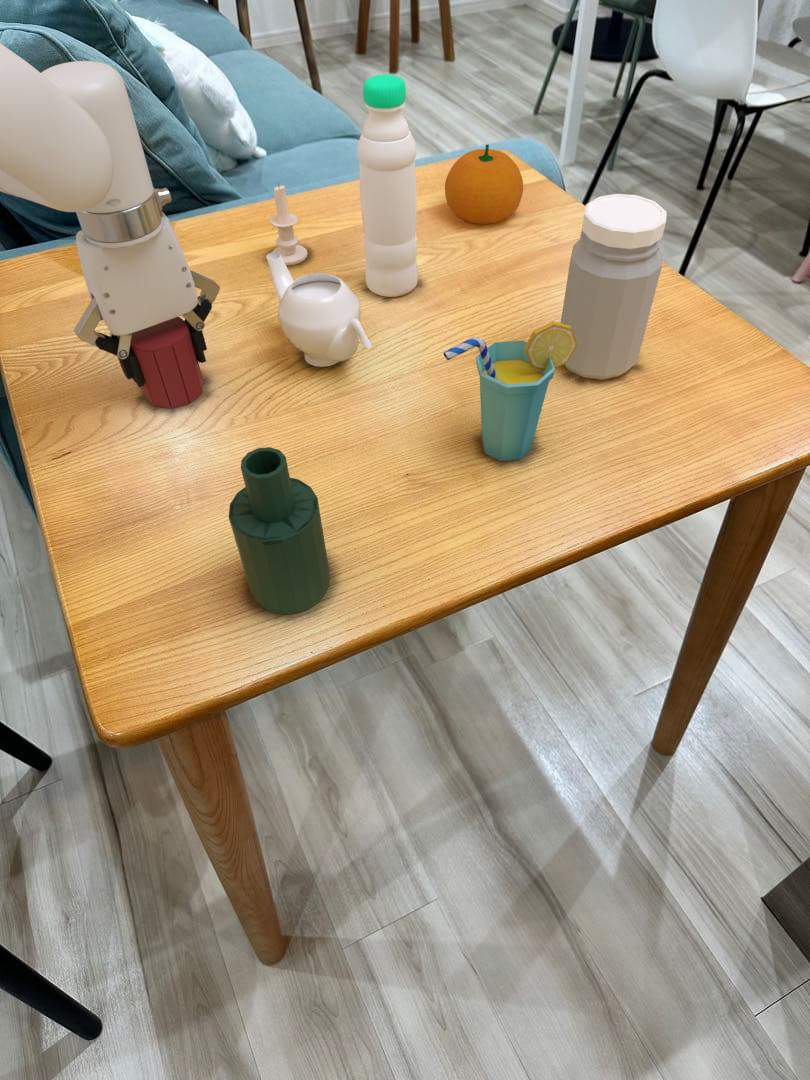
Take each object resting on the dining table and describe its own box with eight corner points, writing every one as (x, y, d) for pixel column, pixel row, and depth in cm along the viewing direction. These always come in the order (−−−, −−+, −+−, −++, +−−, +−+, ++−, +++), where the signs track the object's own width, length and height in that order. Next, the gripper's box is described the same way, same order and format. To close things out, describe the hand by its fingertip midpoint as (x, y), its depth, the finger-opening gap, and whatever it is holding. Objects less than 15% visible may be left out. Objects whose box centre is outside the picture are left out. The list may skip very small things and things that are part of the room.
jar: (654, 366, 88) (696, 217, 74) (590, 394, 85) (621, 244, 71) (599, 327, 94) (629, 181, 80) (537, 352, 90) (557, 204, 77)
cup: (461, 493, 75) (467, 370, 64) (424, 447, 80) (424, 325, 68) (574, 447, 79) (599, 324, 68) (533, 407, 84) (550, 285, 72)
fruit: (446, 195, 118) (448, 128, 111) (520, 197, 117) (527, 129, 110) (441, 231, 111) (442, 161, 103) (520, 233, 110) (527, 163, 102)
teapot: (339, 411, 84) (331, 340, 77) (249, 333, 94) (234, 265, 87) (405, 378, 88) (403, 307, 81) (312, 307, 98) (303, 239, 91)
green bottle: (248, 617, 66) (211, 499, 54) (252, 555, 70) (219, 434, 59) (330, 611, 66) (310, 492, 54) (329, 549, 70) (310, 428, 59)
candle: (264, 259, 106) (251, 186, 99) (286, 244, 109) (275, 171, 101) (293, 269, 105) (282, 194, 97) (314, 252, 107) (306, 179, 100)
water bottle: (427, 280, 102) (427, 74, 83) (399, 304, 98) (393, 94, 79) (384, 267, 104) (375, 64, 86) (356, 290, 101) (339, 83, 82)
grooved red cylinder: (142, 410, 85) (120, 351, 79) (150, 374, 89) (130, 315, 83) (200, 406, 85) (183, 347, 79) (206, 370, 89) (190, 311, 83)
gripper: (187, 177, 76) (223, 328, 90) (17, 226, 70) (83, 380, 84) (218, 203, 72) (251, 357, 86) (41, 258, 66) (106, 415, 80)
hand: (168, 367), depth 85 cm, fingers closed on grooved red cylinder, 6 cm apart
